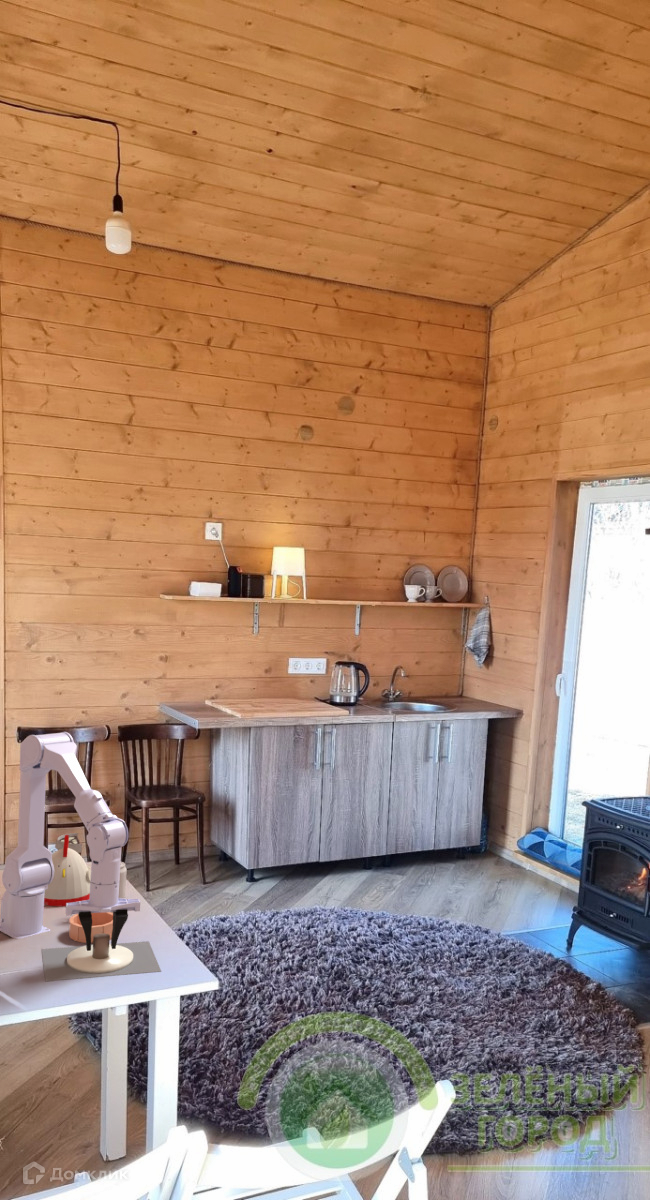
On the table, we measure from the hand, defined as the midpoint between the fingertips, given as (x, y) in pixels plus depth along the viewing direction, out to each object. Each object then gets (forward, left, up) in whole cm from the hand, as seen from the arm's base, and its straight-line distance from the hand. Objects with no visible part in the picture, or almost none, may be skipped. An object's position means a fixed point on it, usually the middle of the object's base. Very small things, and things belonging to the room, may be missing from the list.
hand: (100, 948), depth 180 cm
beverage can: (-21, +18, -3) cm, 28 cm away
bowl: (-13, +7, -3) cm, 15 cm away
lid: (0, 0, -2) cm, 2 cm away
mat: (0, 0, -3) cm, 3 cm away
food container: (-52, +26, -3) cm, 58 cm away
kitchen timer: (-39, +16, -3) cm, 43 cm away
